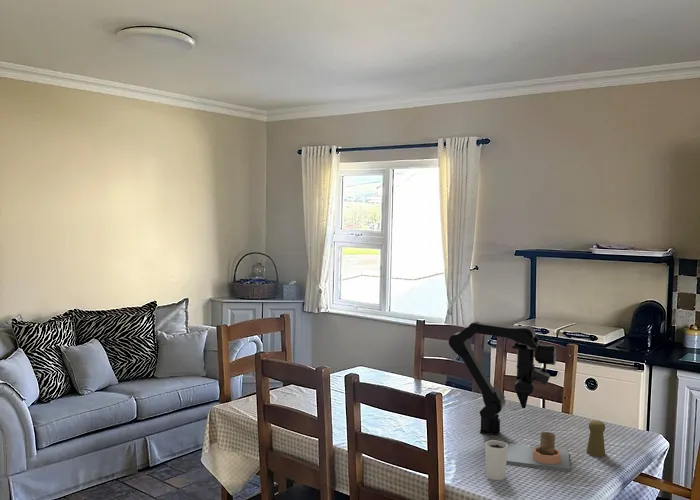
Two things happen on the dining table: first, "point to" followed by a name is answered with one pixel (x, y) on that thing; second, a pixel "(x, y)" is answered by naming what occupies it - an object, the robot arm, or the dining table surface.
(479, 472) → the dining table surface
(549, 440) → the walnut cylinder
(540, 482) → the dining table surface
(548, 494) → the dining table surface
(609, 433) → the dining table surface
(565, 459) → the slate board
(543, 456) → the terracotta ring
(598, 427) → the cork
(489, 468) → the white cup
